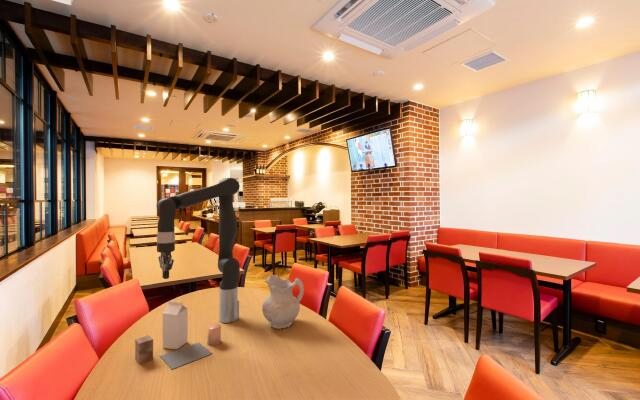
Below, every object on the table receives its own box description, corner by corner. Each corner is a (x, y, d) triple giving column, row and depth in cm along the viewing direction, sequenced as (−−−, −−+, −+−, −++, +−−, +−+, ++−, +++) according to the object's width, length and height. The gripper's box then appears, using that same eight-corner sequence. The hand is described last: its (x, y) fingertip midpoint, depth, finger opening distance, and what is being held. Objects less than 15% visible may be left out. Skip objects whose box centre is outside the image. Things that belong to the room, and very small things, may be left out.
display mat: (198, 342, 132) (198, 342, 132) (212, 353, 123) (212, 353, 123) (159, 356, 120) (159, 355, 120) (171, 369, 111) (171, 368, 111)
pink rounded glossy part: (217, 338, 136) (217, 323, 136) (223, 342, 132) (223, 327, 132) (205, 342, 132) (205, 327, 132) (211, 347, 128) (211, 331, 128)
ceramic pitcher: (306, 320, 160) (307, 273, 161) (300, 333, 140) (301, 280, 142) (267, 318, 162) (268, 272, 164) (256, 331, 142) (258, 279, 144)
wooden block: (149, 354, 122) (149, 335, 122) (153, 359, 118) (153, 339, 118) (135, 359, 118) (135, 339, 118) (138, 364, 115) (139, 343, 114)
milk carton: (176, 349, 125) (177, 305, 125) (162, 348, 127) (162, 304, 127) (187, 341, 132) (187, 299, 132) (173, 340, 134) (173, 298, 134)
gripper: (180, 242, 136) (179, 279, 136) (169, 238, 145) (169, 274, 145) (162, 243, 130) (162, 282, 130) (152, 240, 139) (152, 277, 140)
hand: (165, 278), depth 138 cm, fingers closed
